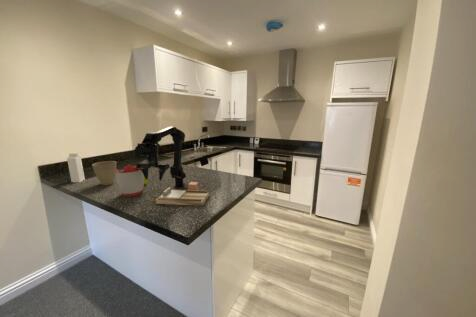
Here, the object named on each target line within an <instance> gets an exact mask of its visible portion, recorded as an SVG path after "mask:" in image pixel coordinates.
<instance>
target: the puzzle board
mask: <svg viewBox="0 0 476 317" xmlns="http://www.w3.org/2000/svg"><path fill="white" fill-rule="evenodd" d="M171 190H178V188H177V189H173V188H171ZM180 190H181V191H186V193H185V194H184V195H183V196H182V197H181V198H161V197H162V196H163V193H162V194H161V195H160V196H158V197H157V198H156V199H155V204H157V205H158V204H159V205H161V204H162V205H180V206H182V205H183V206H185V205H186V206H199V207H200V206H204V204H205V203H206V201H207V200H208V198H209V196H210V193H209V191H208V190H201V189H200V190H199V189H198V190H189V189H180ZM206 199H207V200H206Z"/></svg>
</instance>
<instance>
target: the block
mask: <svg viewBox="0 0 476 317" xmlns="http://www.w3.org/2000/svg"><path fill="white" fill-rule="evenodd" d="M187 187H188V190H199V182H198V181H190V182H189V183H188V186H187Z"/></svg>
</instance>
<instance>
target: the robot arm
mask: <svg viewBox="0 0 476 317" xmlns="http://www.w3.org/2000/svg"><path fill="white" fill-rule="evenodd" d="M169 135H170V136H171V138H172V142H173V144H174V149H173V150H174V151H173V164H172V165H171V166H170V164H169V163H160V162H159V158H160V155H159V147H161V144H159V143H160V142H161V140H162V139H163V138H164V137H166V136H167V137H168V136H169ZM185 139H186V134H185V132H184V131H183V130H180V129H179V128H177V127H176V126H167V127H166V128H163V129H161V130H158V131H154V132H146V134H145V135H144V138H143V140H142V141H141V143H140V142H139V143H137V146H135V147H134V153H135V155H136V156H137V157H142V156H145V159H144V160H142V161H141V162H137V163H136V165H135V166H136V168H138V169H140V170H141V171H142V172H143V174H144V177H145V179H146V180H147V181H148V178H149V169H151V168H156V169H157V168H158V170H157V171H158V174H159V175H158V176H159V177H158V178H159V181H162V180H163V177H164V175H165V173H166V171H168V170H169V173H170V175H171V178H172V179H174V185H173V187H174V188H182V187H184V186H185V185H186V183H184V179H185V178H187V174H186V173H185V172H184V168H183V166H182V152H183V150H182V149H183V148H182V147H183V143H184V142H185Z"/></svg>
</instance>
